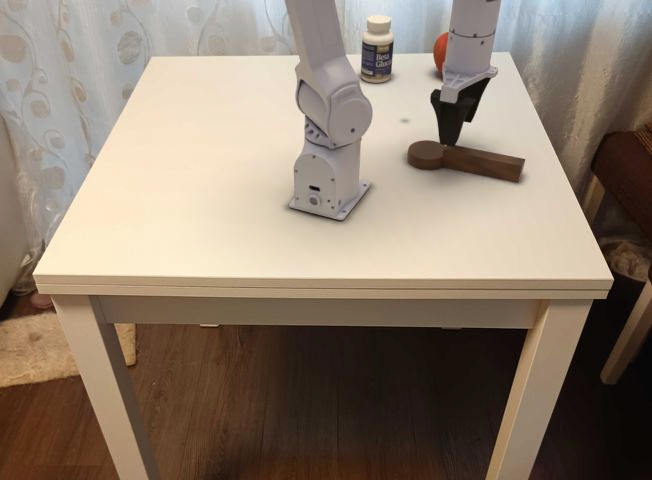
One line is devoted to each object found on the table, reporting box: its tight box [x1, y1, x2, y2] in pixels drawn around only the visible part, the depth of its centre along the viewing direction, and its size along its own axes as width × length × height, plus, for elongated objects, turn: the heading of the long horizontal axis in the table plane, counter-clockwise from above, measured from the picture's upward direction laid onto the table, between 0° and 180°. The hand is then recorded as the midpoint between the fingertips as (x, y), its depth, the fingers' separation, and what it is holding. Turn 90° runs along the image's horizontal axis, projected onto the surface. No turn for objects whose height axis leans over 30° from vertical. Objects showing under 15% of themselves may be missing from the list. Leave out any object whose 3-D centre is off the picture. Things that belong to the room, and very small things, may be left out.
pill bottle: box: [360, 14, 395, 84], centre depth 110 cm, size 5×5×10 cm
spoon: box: [407, 139, 526, 183], centre depth 90 cm, size 16×6×3 cm, turn 63°
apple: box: [432, 31, 449, 76], centre depth 110 cm, size 7×7×8 cm
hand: (456, 132), depth 89 cm, fingers open, 7 cm apart
